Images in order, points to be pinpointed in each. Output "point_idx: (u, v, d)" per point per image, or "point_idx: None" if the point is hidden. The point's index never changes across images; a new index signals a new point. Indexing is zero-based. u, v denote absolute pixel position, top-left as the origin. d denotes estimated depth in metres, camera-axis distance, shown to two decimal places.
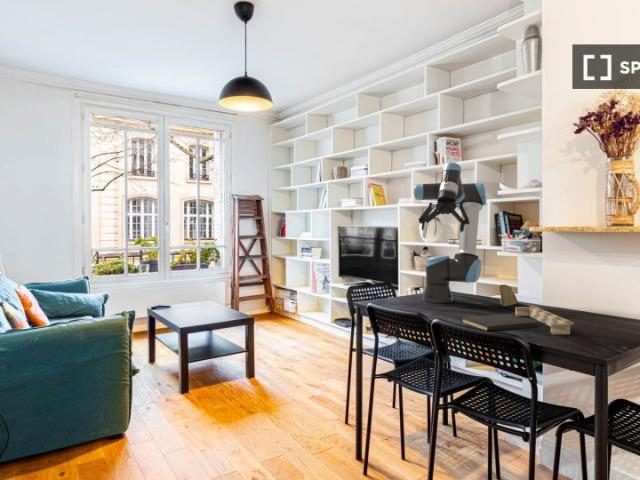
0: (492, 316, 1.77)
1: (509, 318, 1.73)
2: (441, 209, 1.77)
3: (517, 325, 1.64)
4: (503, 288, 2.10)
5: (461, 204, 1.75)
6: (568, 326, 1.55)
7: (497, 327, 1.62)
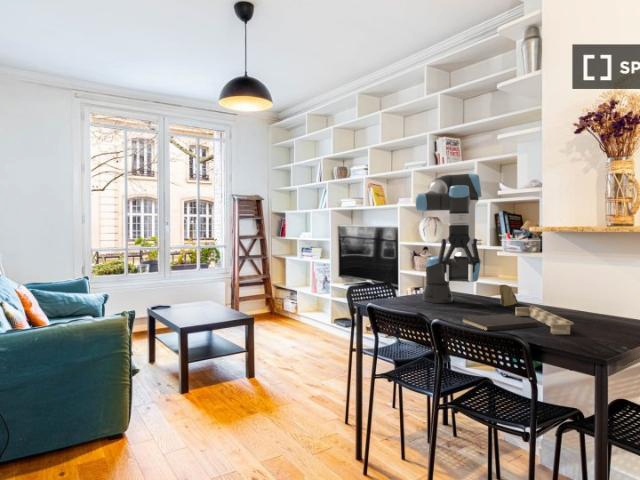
0: (492, 316, 1.77)
1: (509, 318, 1.73)
2: (456, 245, 1.69)
3: (517, 325, 1.64)
4: (503, 288, 2.10)
5: (475, 241, 1.69)
6: (568, 326, 1.55)
7: (497, 327, 1.62)
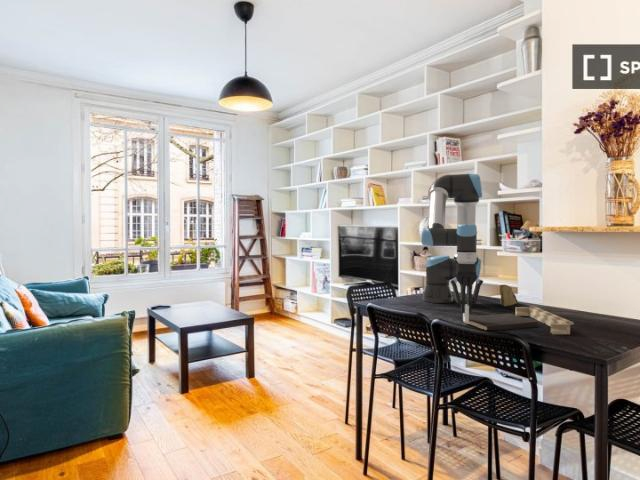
0: (493, 316, 1.77)
1: (510, 318, 1.73)
2: None
3: (517, 325, 1.64)
4: (503, 288, 2.10)
5: (481, 283, 1.69)
6: (568, 326, 1.55)
7: (497, 327, 1.62)
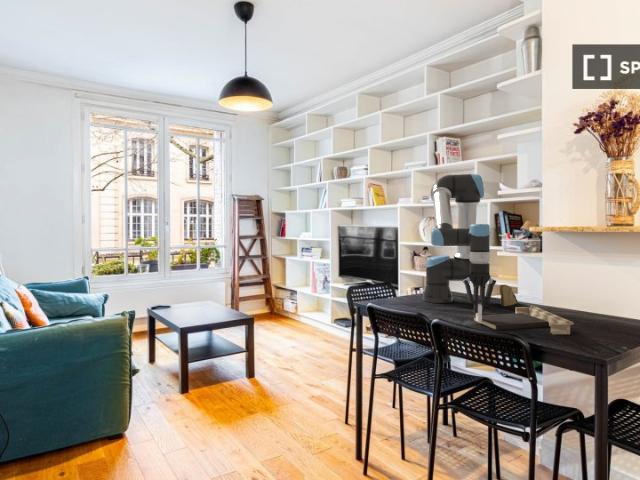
0: (504, 315, 1.78)
1: (521, 317, 1.73)
2: None
3: (528, 324, 1.64)
4: (503, 288, 2.10)
5: (494, 283, 1.69)
6: (568, 326, 1.55)
7: (506, 326, 1.63)
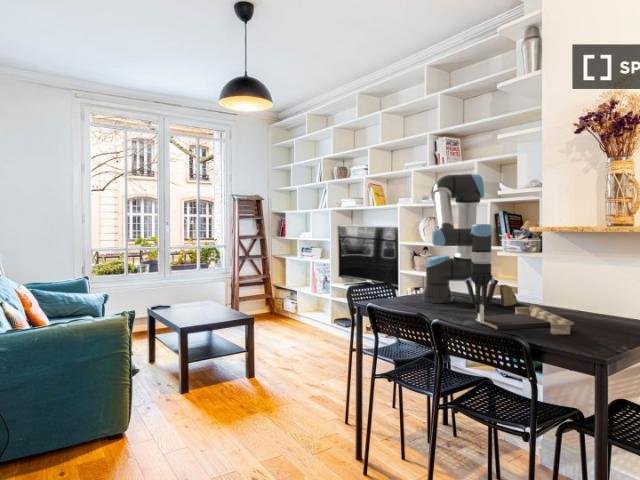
0: (506, 315, 1.78)
1: (523, 318, 1.74)
2: None
3: (529, 325, 1.65)
4: (503, 288, 2.10)
5: (496, 283, 1.69)
6: (568, 326, 1.55)
7: (508, 326, 1.63)
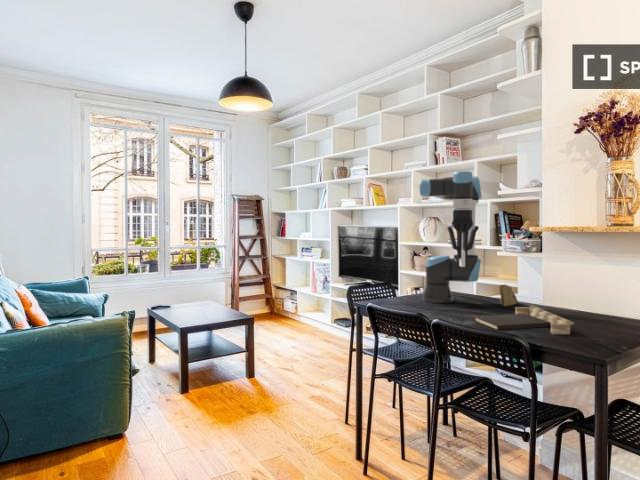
0: (506, 315, 1.78)
1: (523, 318, 1.74)
2: None
3: (529, 325, 1.65)
4: (503, 288, 2.10)
5: (476, 229, 1.75)
6: (568, 326, 1.55)
7: (508, 326, 1.63)
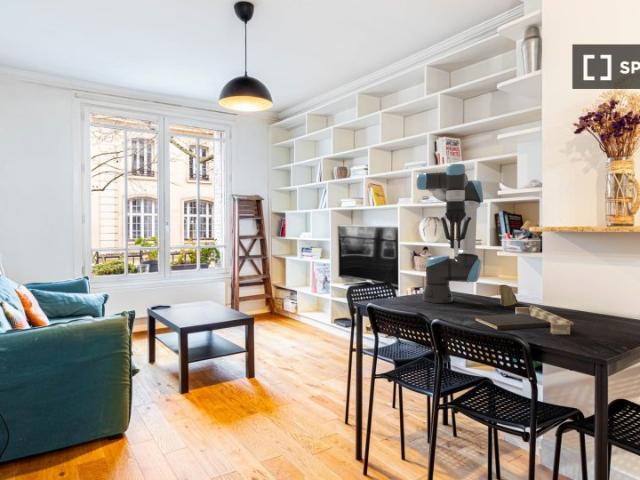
0: (506, 315, 1.78)
1: (523, 318, 1.74)
2: None
3: (529, 325, 1.65)
4: (503, 288, 2.10)
5: (469, 219, 1.80)
6: (568, 326, 1.55)
7: (508, 326, 1.63)
